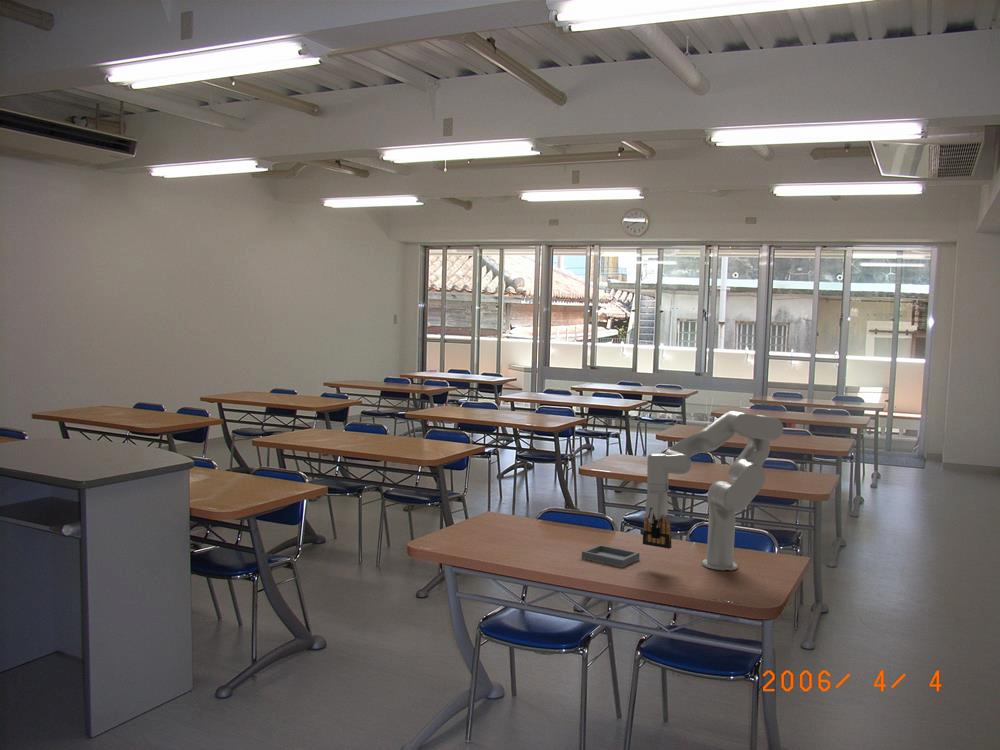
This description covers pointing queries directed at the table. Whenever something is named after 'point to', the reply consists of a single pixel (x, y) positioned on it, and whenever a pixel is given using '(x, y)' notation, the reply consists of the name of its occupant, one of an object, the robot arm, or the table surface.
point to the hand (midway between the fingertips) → (657, 536)
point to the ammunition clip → (664, 534)
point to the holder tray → (610, 555)
